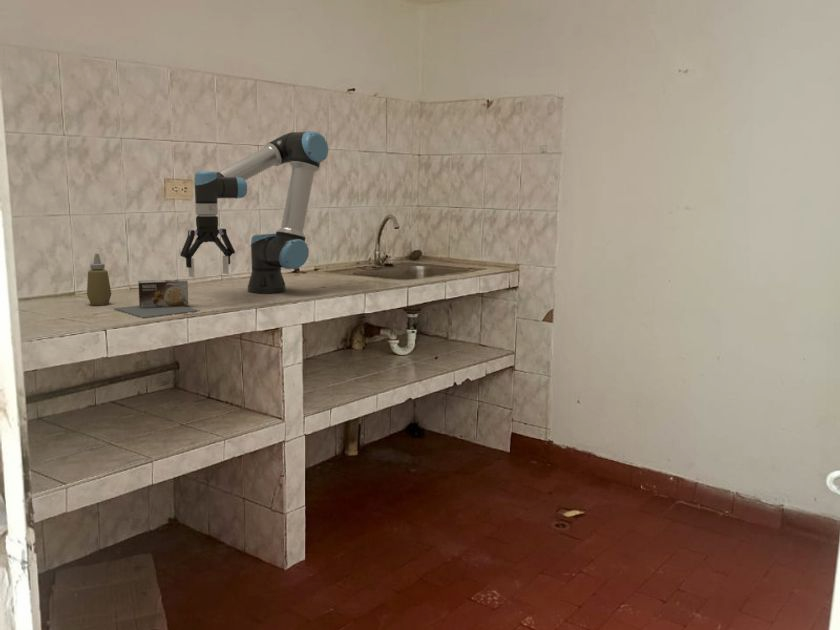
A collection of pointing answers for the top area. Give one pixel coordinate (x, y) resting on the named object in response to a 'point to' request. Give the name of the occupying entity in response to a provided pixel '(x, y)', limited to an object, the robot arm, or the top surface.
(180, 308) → the mat
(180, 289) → the coffee box
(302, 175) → the robot arm
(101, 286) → the squeeze bottle
